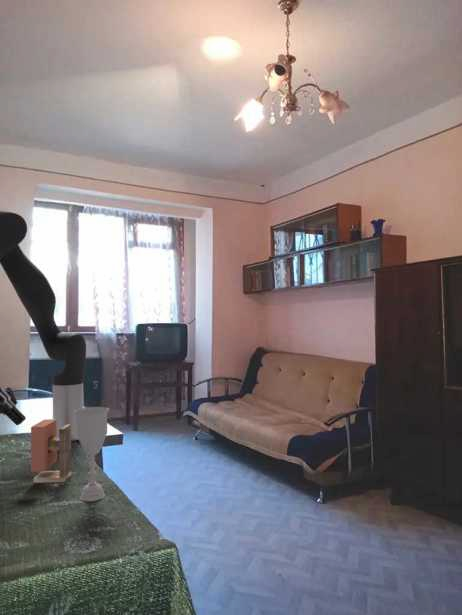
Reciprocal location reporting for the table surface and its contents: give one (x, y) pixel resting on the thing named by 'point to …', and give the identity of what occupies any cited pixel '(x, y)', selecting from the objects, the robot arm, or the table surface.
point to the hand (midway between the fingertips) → (21, 421)
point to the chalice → (92, 444)
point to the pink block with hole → (43, 445)
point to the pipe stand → (64, 457)
